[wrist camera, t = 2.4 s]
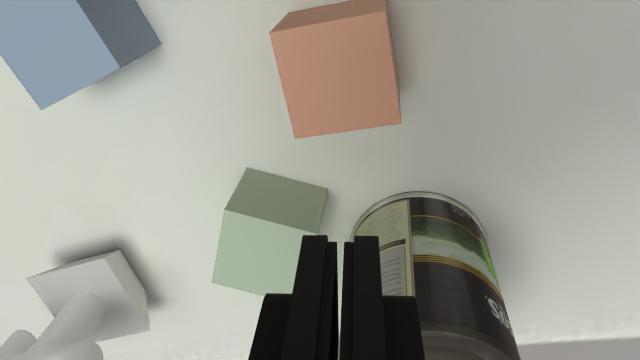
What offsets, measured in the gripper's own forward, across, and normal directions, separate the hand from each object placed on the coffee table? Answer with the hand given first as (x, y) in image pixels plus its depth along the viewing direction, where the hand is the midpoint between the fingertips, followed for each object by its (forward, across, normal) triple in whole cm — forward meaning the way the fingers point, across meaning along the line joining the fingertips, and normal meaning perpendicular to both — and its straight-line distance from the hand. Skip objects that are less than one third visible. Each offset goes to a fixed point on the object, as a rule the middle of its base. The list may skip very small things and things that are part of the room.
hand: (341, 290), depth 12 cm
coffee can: (+24, -5, +15) cm, 28 cm away
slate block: (+24, +16, -2) cm, 29 cm away
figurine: (+25, +20, +18) cm, 37 cm away
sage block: (+24, +6, +12) cm, 27 cm away
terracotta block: (+24, 0, 0) cm, 24 cm away
